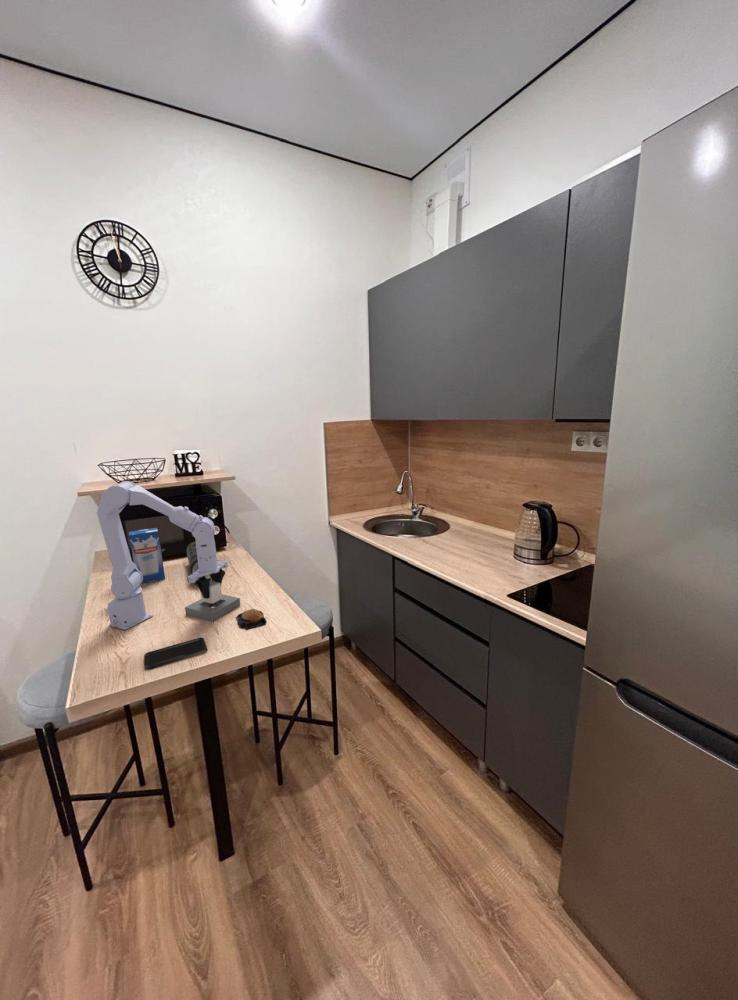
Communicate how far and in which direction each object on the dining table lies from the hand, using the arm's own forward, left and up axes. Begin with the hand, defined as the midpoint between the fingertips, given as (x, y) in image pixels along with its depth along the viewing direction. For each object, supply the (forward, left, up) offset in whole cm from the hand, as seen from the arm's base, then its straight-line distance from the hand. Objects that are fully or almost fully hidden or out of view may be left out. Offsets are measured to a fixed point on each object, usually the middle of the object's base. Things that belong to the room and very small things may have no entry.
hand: (211, 595), depth 132 cm
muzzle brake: (+23, +31, -6) cm, 39 cm away
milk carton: (+10, +45, -5) cm, 46 cm away
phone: (-23, -11, -6) cm, 26 cm away
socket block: (0, 0, -5) cm, 5 cm away
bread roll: (-1, -17, -6) cm, 18 cm away
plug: (0, 0, -2) cm, 2 cm away
